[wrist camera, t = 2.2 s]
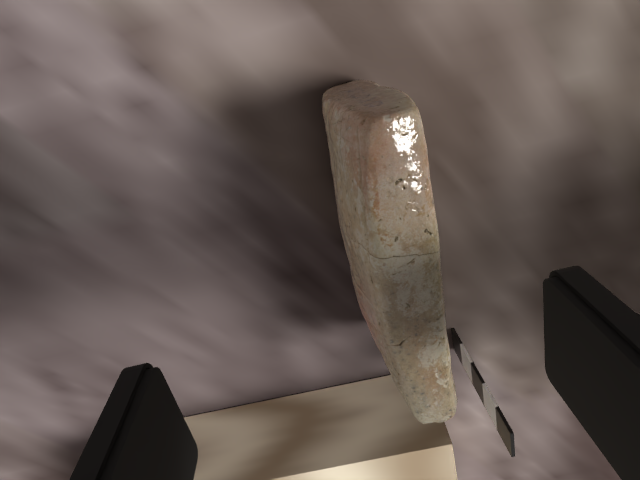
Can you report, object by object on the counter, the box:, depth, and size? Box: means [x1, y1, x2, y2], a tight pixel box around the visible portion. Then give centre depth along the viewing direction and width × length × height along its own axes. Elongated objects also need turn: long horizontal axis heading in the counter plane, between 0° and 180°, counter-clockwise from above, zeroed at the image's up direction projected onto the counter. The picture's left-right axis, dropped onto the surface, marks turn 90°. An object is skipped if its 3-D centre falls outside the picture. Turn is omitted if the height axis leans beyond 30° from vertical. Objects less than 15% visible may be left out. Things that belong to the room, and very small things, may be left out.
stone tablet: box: [322, 80, 515, 457], centre depth 15 cm, size 6×4×12 cm
